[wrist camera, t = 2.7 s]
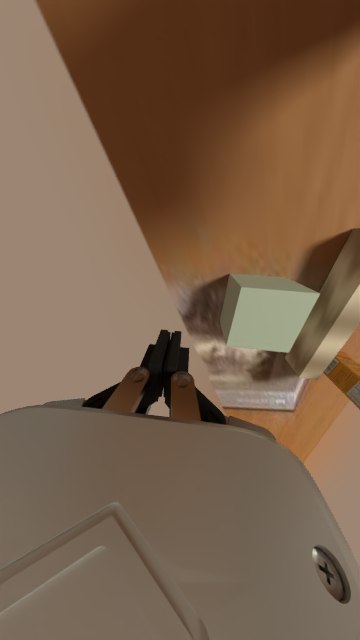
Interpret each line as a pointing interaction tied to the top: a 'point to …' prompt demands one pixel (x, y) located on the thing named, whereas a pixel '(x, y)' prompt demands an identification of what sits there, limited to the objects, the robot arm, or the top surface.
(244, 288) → the green block
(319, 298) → the birch board
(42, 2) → the top surface
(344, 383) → the supplement box
